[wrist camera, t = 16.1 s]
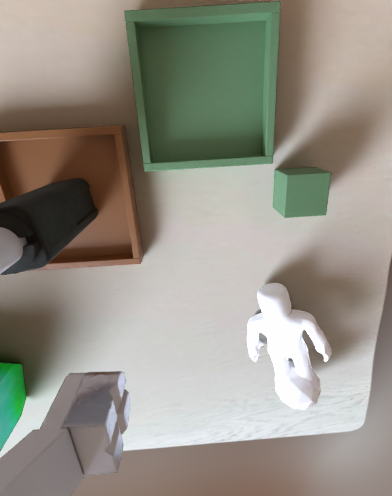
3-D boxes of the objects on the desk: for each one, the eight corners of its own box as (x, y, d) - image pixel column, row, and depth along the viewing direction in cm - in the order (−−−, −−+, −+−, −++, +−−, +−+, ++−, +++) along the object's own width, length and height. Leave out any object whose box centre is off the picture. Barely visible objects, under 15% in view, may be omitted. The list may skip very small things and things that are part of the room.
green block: (274, 169, 32) (287, 174, 28) (313, 166, 32) (331, 172, 28) (272, 207, 34) (284, 218, 30) (309, 204, 34) (326, 215, 30)
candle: (43, 184, 32) (-340, 327, 9) (86, 175, 32) (-191, 300, 9) (60, 226, 34) (-218, 433, 11) (100, 218, 34) (-94, 413, 10)
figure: (340, 383, 43) (316, 269, 37) (346, 424, 37) (319, 297, 31) (266, 382, 48) (234, 281, 41) (262, 418, 42) (224, 306, 36)
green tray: (129, 21, 27) (124, 10, 24) (272, 12, 27) (280, 0, 24) (147, 168, 32) (144, 171, 30) (266, 161, 32) (272, 163, 30)
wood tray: (-11, 133, 30) (-25, 134, 28) (124, 125, 30) (120, 125, 28) (31, 263, 36) (22, 271, 34) (143, 256, 36) (141, 264, 34)
